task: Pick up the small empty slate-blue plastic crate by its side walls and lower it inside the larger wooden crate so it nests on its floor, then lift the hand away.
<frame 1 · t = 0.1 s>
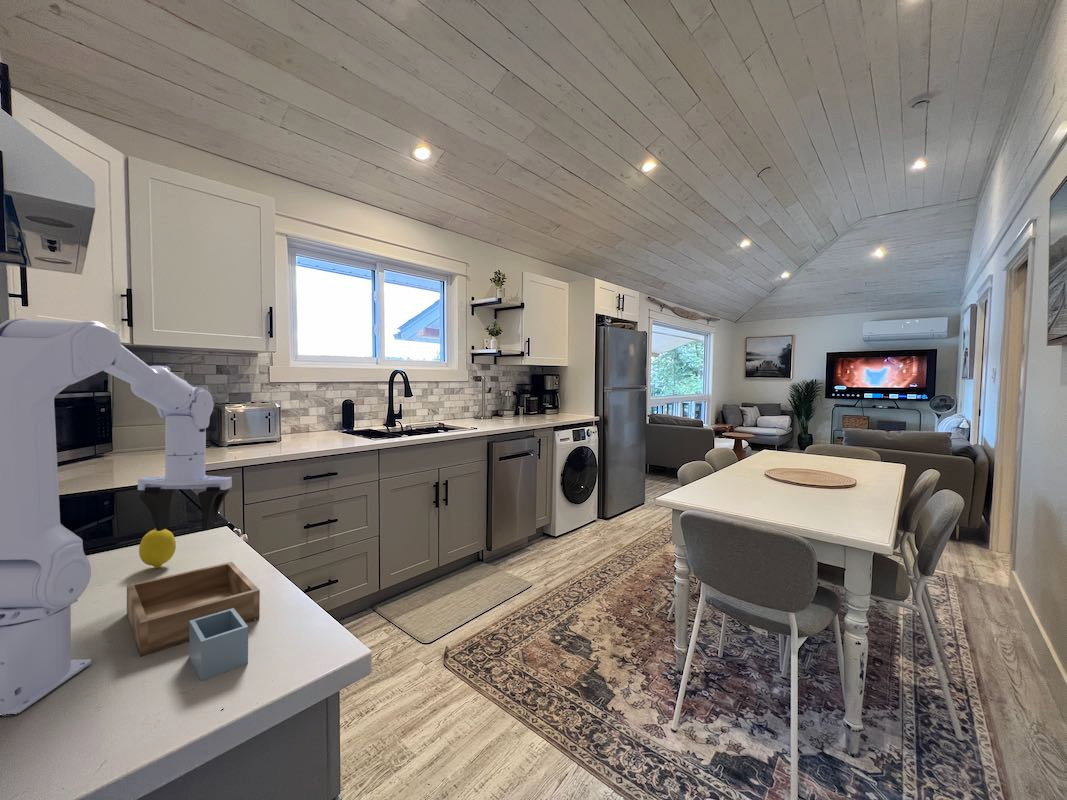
hand: (185, 529, 81), 10 cm above the table, tool pointing down, fingers open, 7 cm apart
big crate: (192, 616, 70), on the table
lemon: (157, 568, 88), on the table
small crate: (218, 661, 59), on the table
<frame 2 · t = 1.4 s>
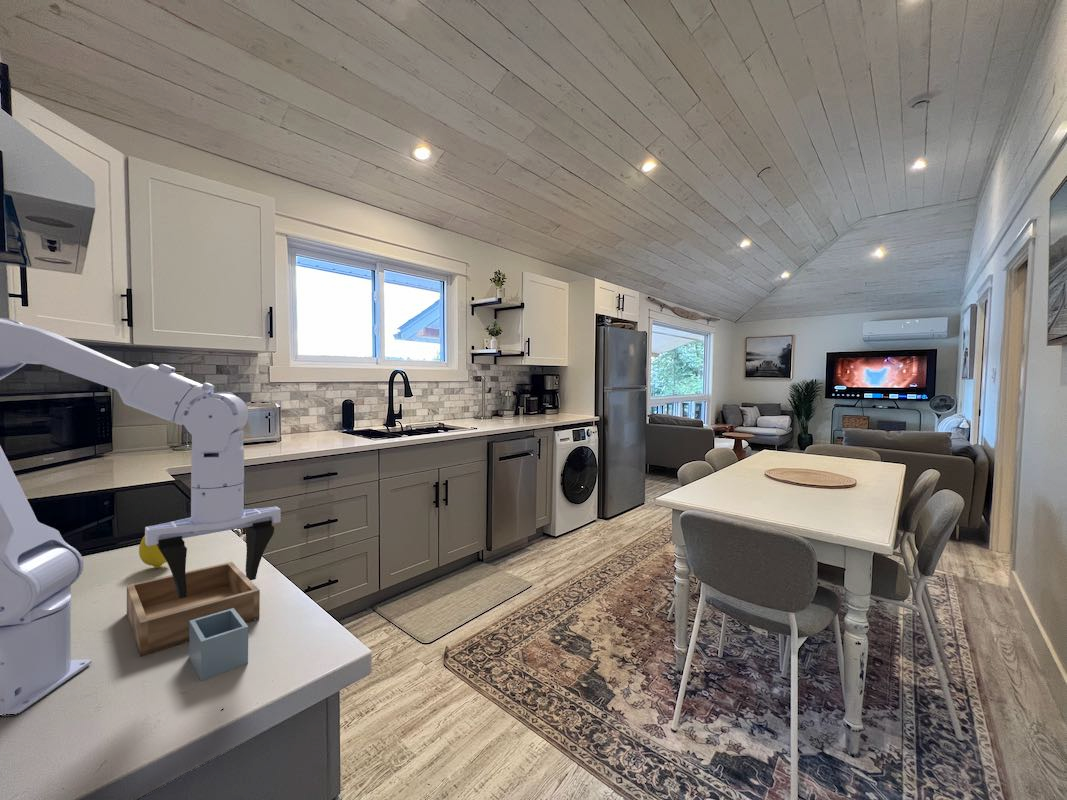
hand: (217, 586, 60), 9 cm above the table, tool pointing down, fingers open, 7 cm apart
nothing on the table moved.
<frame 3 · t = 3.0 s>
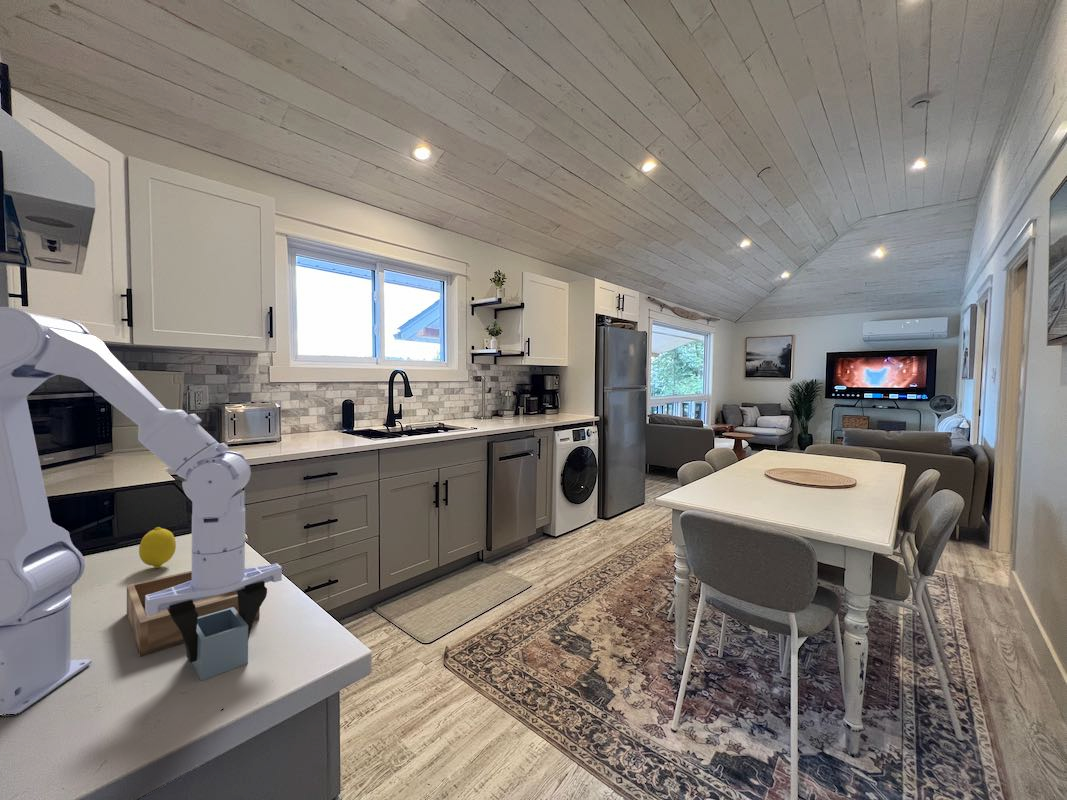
hand: (218, 649, 59), 1 cm above the table, tool pointing down, fingers closed on small crate, 5 cm apart
small crate: (218, 660, 59), on the table, touching gripper
everything else where it was.
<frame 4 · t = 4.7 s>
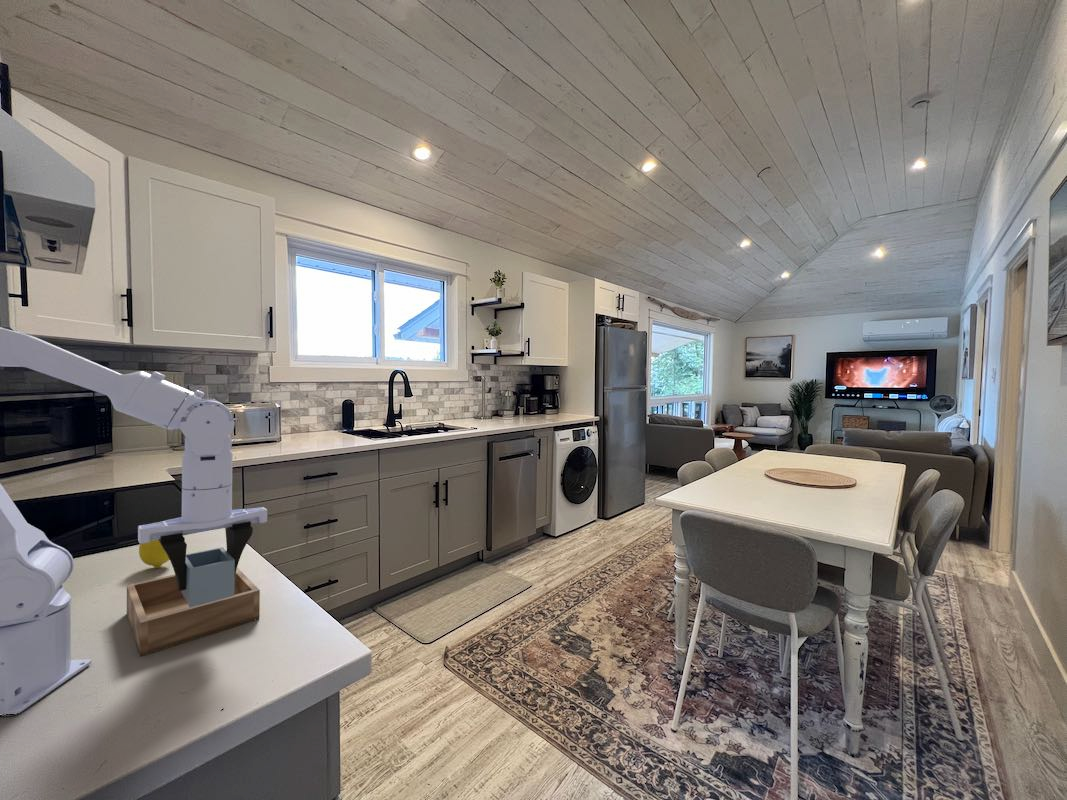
hand: (206, 582, 63), 8 cm above the table, tool pointing down, fingers closed on small crate, 5 cm apart
small crate: (207, 592, 63), point 7 cm above the table, touching gripper
everything else where it was.
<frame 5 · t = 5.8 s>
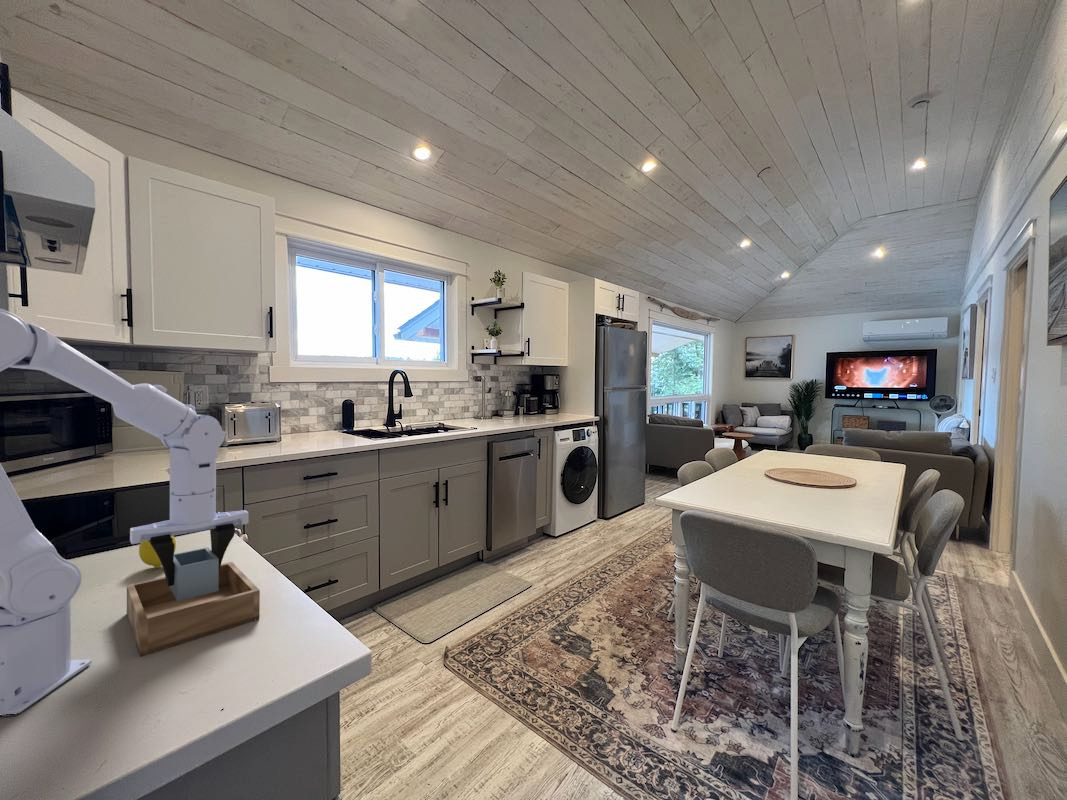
hand: (193, 578, 70), 6 cm above the table, tool pointing down, fingers closed on small crate, 5 cm apart
small crate: (193, 588, 70), point 4 cm above the table, touching gripper
everything else where it was.
when the fingers open (3 cm above the table, at t = 6.8 s): small crate stays where it is, resting on big crate.
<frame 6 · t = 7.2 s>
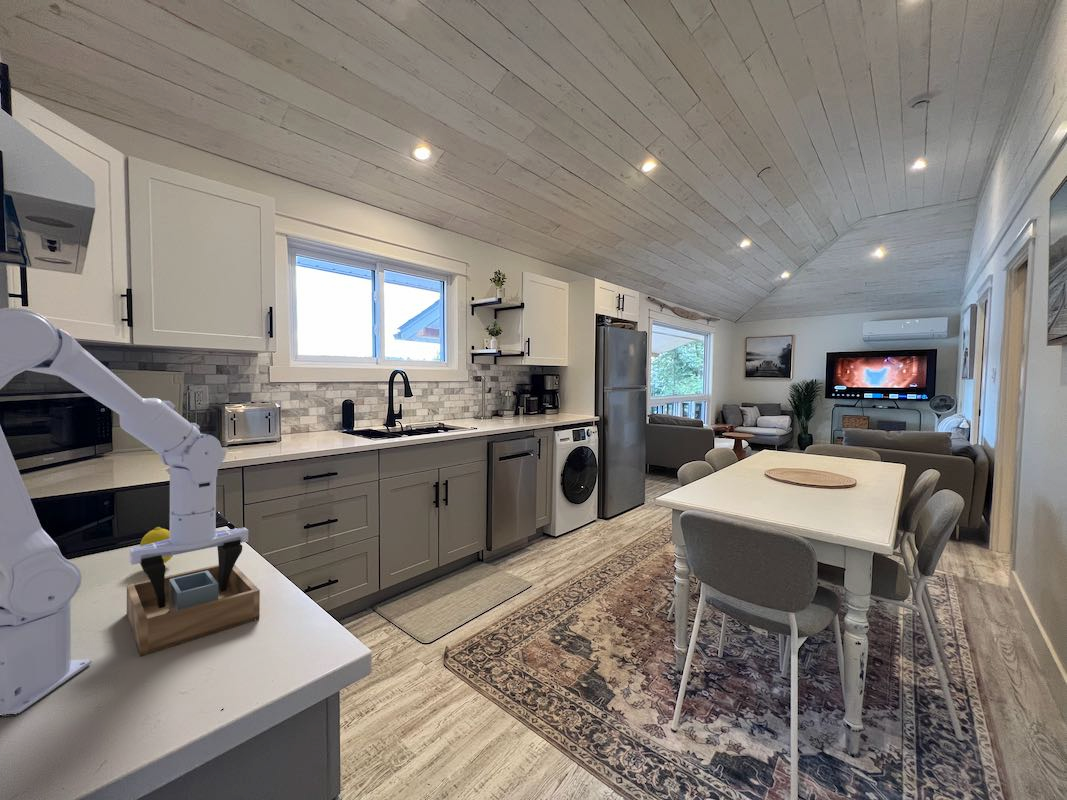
hand: (192, 597, 70), 3 cm above the table, tool pointing down, fingers open, 7 cm apart
small crate: (193, 613, 70), point 1 cm above the table, touching big crate
everything else where it was.
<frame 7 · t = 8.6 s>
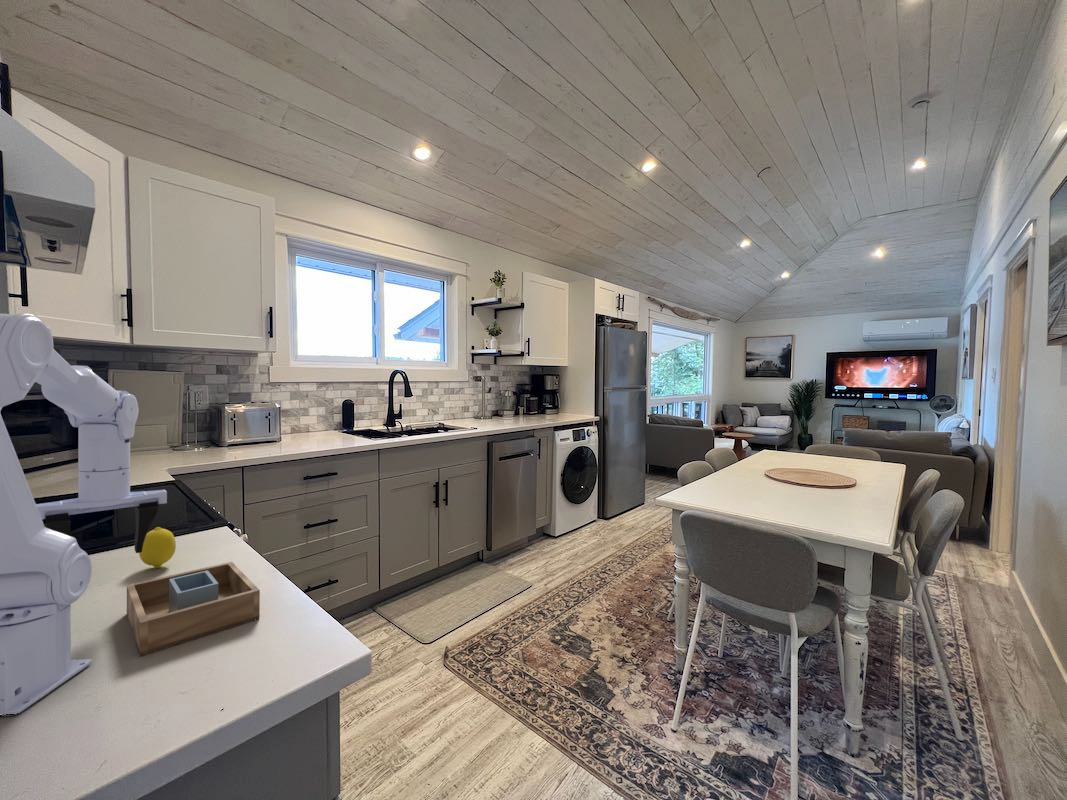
hand: (104, 557, 69), 9 cm above the table, tool pointing down, fingers open, 7 cm apart
nothing on the table moved.
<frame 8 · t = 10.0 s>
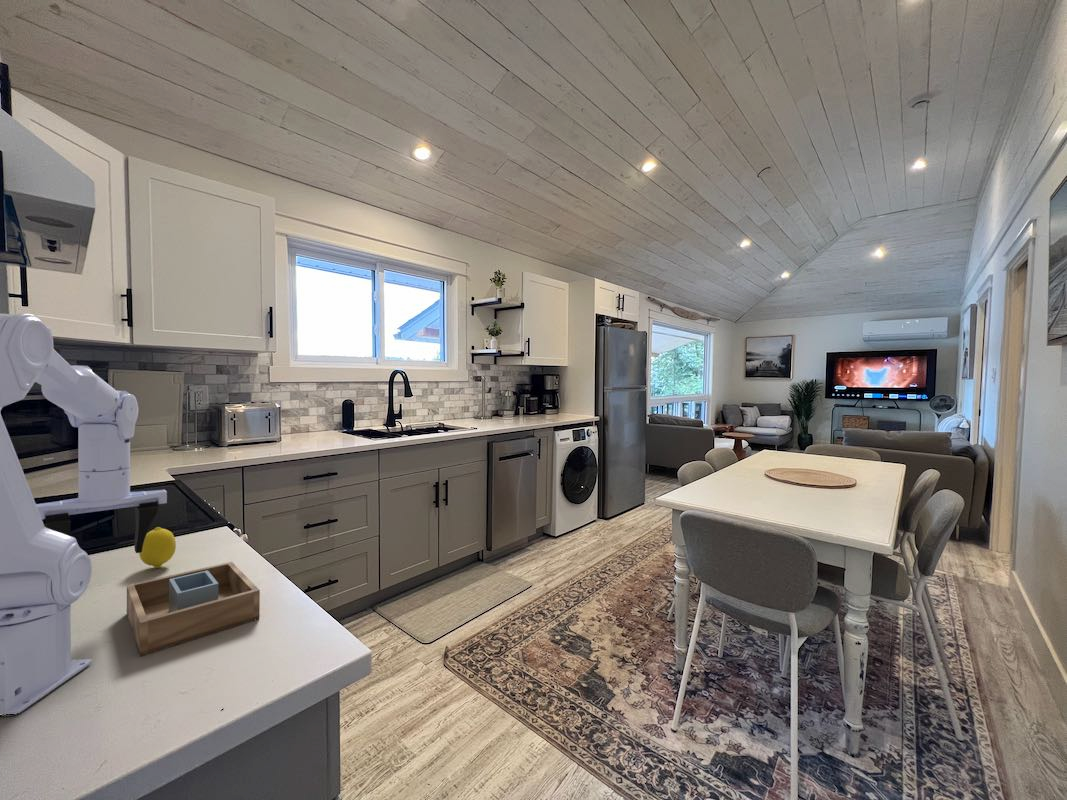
hand: (104, 557, 69), 9 cm above the table, tool pointing down, fingers open, 7 cm apart
nothing on the table moved.
at the end: small crate inside the target area on the big crate (0.3 cm from its centre), point 0.6 cm above the big crate's base; small crate tilted 0°; the gripper is holding nothing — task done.
